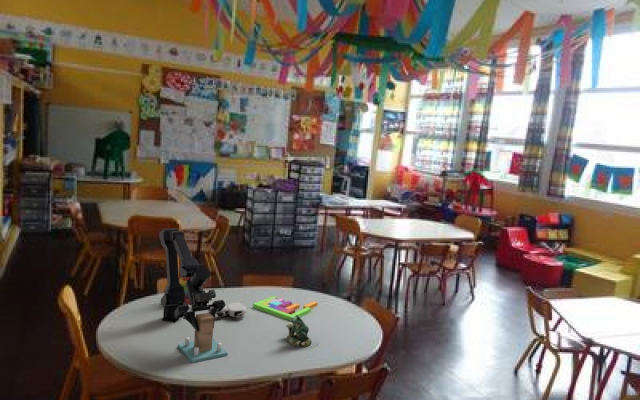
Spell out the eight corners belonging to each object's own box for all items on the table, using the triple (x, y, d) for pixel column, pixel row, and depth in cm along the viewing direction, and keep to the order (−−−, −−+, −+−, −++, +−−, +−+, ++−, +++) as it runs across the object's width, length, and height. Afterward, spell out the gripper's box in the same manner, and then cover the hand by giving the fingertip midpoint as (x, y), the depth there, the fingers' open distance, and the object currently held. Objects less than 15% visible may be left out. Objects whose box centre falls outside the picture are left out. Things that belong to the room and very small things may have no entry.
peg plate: (178, 346, 193) (178, 336, 193) (212, 340, 202) (212, 330, 201) (191, 362, 182) (192, 352, 182) (227, 355, 190) (228, 345, 190)
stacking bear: (196, 304, 237) (198, 268, 234) (174, 302, 237) (176, 266, 234) (201, 297, 247) (204, 261, 245) (181, 295, 247) (183, 259, 245)
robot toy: (213, 323, 220) (248, 319, 225) (213, 313, 220) (248, 310, 224) (210, 312, 232) (243, 309, 236) (210, 303, 231) (243, 300, 236)
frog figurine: (271, 333, 215) (274, 307, 213) (312, 331, 220) (314, 306, 218) (280, 352, 198) (283, 324, 196) (324, 350, 203) (327, 323, 201)
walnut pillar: (193, 346, 192) (195, 314, 190) (206, 344, 195) (208, 312, 193) (199, 352, 188) (201, 319, 186) (211, 349, 191) (213, 317, 189)
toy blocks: (291, 322, 229) (320, 308, 250) (292, 317, 228) (321, 303, 249) (252, 308, 240) (283, 296, 262) (253, 303, 240) (284, 291, 261)
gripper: (178, 285, 186) (188, 325, 179) (225, 280, 197) (236, 317, 190) (170, 298, 193) (178, 337, 186) (215, 292, 204) (225, 329, 197)
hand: (205, 329), depth 189 cm, fingers open, 6 cm apart
